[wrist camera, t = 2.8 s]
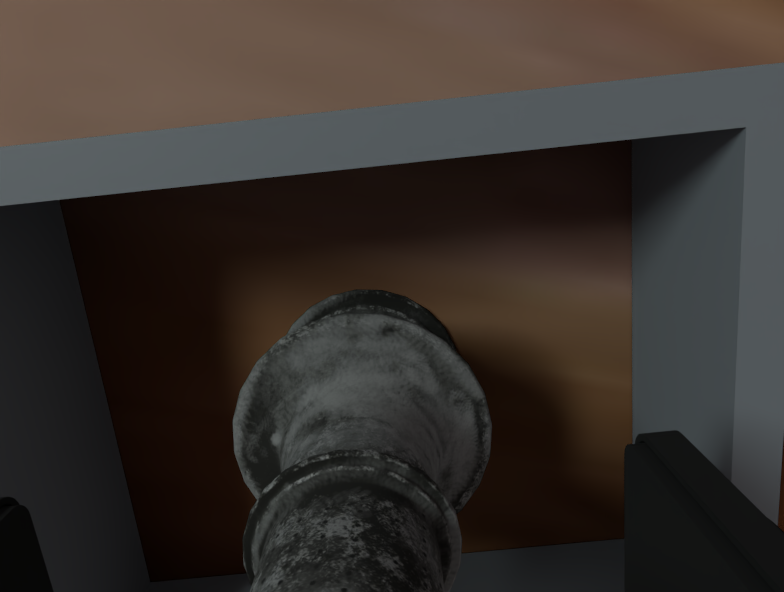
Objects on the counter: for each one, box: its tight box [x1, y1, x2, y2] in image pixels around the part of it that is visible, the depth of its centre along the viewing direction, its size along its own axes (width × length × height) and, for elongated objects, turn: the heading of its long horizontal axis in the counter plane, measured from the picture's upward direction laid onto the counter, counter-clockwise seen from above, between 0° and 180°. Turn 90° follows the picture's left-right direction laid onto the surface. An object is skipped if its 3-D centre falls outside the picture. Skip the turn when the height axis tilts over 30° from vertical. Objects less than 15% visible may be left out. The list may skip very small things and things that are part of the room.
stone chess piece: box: [233, 290, 492, 592], centre depth 11 cm, size 6×6×12 cm
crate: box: [0, 63, 784, 592], centre depth 14 cm, size 17×14×5 cm
